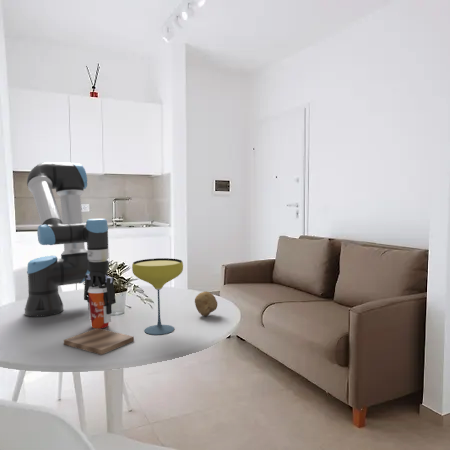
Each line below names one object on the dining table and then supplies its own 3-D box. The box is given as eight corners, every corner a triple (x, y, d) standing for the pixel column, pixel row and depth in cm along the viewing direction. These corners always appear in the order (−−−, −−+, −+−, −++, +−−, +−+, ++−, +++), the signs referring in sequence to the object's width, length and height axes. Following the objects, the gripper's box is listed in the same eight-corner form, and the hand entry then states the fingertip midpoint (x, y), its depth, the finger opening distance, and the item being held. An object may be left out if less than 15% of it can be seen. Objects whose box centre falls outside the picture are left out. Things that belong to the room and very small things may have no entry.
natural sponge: (212, 311, 172) (212, 288, 172) (221, 317, 164) (220, 292, 163) (192, 314, 169) (191, 290, 168) (199, 320, 160) (199, 295, 160)
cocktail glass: (177, 320, 161) (176, 257, 159) (190, 334, 144) (188, 263, 143) (130, 326, 155) (128, 260, 153) (138, 341, 138) (136, 267, 136)
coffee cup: (90, 331, 149) (89, 290, 148) (87, 324, 156) (85, 285, 155) (114, 327, 153) (112, 287, 152) (109, 321, 160) (108, 283, 159)
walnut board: (63, 344, 136) (63, 339, 136) (97, 332, 148) (97, 328, 148) (101, 354, 127) (101, 349, 126) (133, 340, 138) (133, 336, 138)
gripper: (72, 259, 155) (74, 319, 156) (109, 263, 144) (111, 327, 146) (88, 256, 161) (90, 314, 163) (125, 260, 150) (126, 322, 152)
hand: (100, 320), depth 154 cm, fingers closed on coffee cup, 7 cm apart
